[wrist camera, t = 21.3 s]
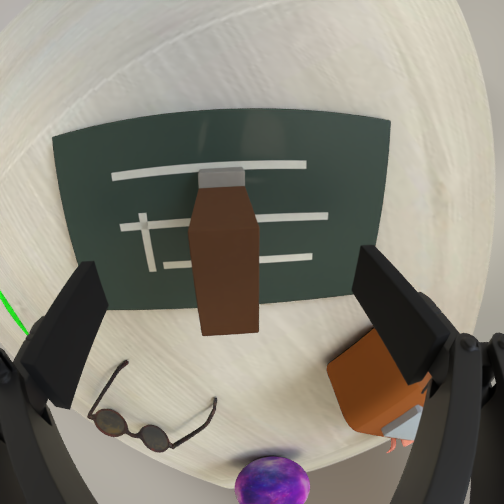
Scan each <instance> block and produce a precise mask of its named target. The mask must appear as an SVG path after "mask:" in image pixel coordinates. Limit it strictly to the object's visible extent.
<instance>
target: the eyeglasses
mask: <svg viewBox="0 0 504 504" xmlns="http://www.w3.org/2000/svg"><path fill="white" fill-rule="evenodd" d="M128 363H129V362H128V361H127V360H126V361H124V362H123V363H122V364H120V365H119V366H118V367H117V369H116V370H115V372H114V373H113V375H112V376H111V378H110V380H109V381H108V383H107V384H106V386H105V387H104V389H103V390H102V392H101V394H100V395H99V397H98V399H97V400H96V402H95V403H94V405H93V407H92V408H91V410H90V411H89V413H88V416H87V418H89V419H91V420H94V423H95V425H96V427H97V428H98V429H99V430H100V431H101V432H102V433H104V434H105V435H108V436H111V437H119V436H121V435H123V434H127V435H129V436H131V437H134V438H140V439H141V440H142V441H143V443H144V444H145V446H146V447H147V448H149V449H150V450H152V451H154V452H159V453H160V452H164V451H166V450H167V449H168V448H172V449H174V448H175V447H177V446H179V445H180V444H182V443H184V442H185V441H187V440H188V439H190V438H191V437H193V436H194V435H196V434H197V433H199V432H200V431H202V430H203V429H204V428H205V427H207V425H208V424H209V423H210V421H211V419H212V417H213V415H214V413H215V410H216V404H217V398H214V403H213V409H212V411H211V413H210V415H209V417H208V419H207V421H206V422H205V423H204V424H203V425H202V426H201V427H199V428H198V429H196V430H195V431H193V432H192V433H190V434H188V435H187V436H185V437H183V438H182V439H180V440H178V441H177V442H175V443H174V444H172V443H170V441H169V439H168V437H167V435H166V433H165V432H164V431H163V430H162V429H160V428H159V427H157V426H154V425H146V426H144V427H142V428H141V430H140V431H139V432H138V433H136V434H134V433H131V432H130V431H129V430H128V426H127V423H126V421H125V419H124V418H123V417H122V416H121V415H120V414H119V413H117V412H115V411H113V410H110V409H101V410H99V411H97V412H96V414H92V413H93V411H94V410H95V408H96V407H97V405H98V403H99V402H100V400H101V399H102V397H103V395H104V394H105V392H106V391H107V389H108V388H109V386H110V385H111V383H112V382H113V380H114V378H115V377H116V376H117V374H118V373H119V371H120V370H121V369H122V368H124V367H125V366H126V365H127V364H128Z"/></svg>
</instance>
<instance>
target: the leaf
mask: <svg viewBox="0 0 504 504" xmlns="http://www.w3.org/2000/svg"><path fill="white" fill-rule="evenodd" d="M0 299H1V300H2V302H3V304H4V305H5V307H6V309H7V310H8V312H9V313H10V315H11V316H12V317H13V319H14V320H15V321H16V323H17V324H18V325H19V326H20V328H21V329H22V330H23V331H24V332H25V334H26V335H28V334H29V333H28V332H27V330H26V329H25V327H24V326H23V324H22V323H21V321H20V320H19V318H18V317H17V315H16V314H15V312H14V311H13V309H12V308H11V306H10V305H9V303H8V302H7V300H6V299H5V297H4V295H3V294H2V292H1V291H0Z"/></svg>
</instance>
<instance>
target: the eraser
mask: <svg viewBox="0 0 504 504" xmlns="http://www.w3.org/2000/svg"><path fill="white" fill-rule="evenodd" d="M198 185H199V190H198V193H197V197H196V201H195V205H194V209H193V212H192V216H191V220H190V224H189V228H188V240H189V248H190V257H191V264H192V272H193V279H194V286H195V293H196V300H197V307H198V313H199V319H200V325H201V331H202V336H214V335H231V334H245V333H258V332H259V239H260V228H259V225H258V222H257V219H256V216H255V213H254V211H253V208H252V205H251V202H250V199H249V196H248V194H247V191H246V188H245V171H244V169H243V167H227V168H208V169H200V170H199V172H198Z"/></svg>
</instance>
